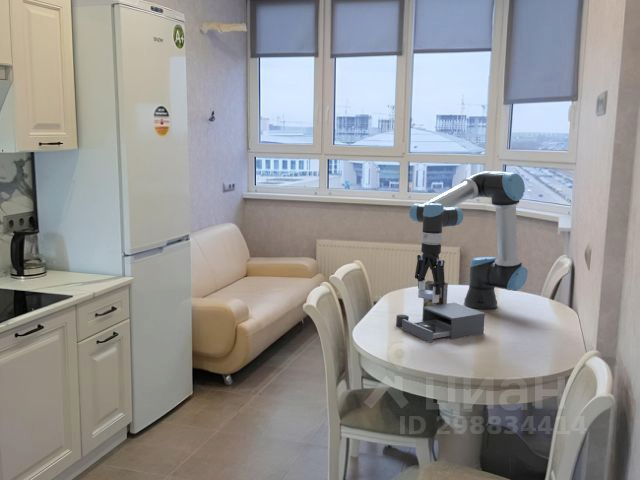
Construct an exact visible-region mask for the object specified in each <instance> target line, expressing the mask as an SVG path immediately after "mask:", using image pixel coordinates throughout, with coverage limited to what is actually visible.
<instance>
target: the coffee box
mask: <svg viewBox="0 0 640 480" xmlns="http://www.w3.org/2000/svg"><path fill="white" fill-rule="evenodd" d="M448 284H449V283H448V282H445V285H444V286H441V287H440V295H439V302H438V303H432V300H430V299H423V300H422V301H423V303H422V308H423V307H427V306H434V305H440V304H447V303H448ZM433 286H434V280H426V281H425V290H430V291H433Z"/></svg>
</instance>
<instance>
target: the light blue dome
mask: <svg viewBox="0 0 640 480" xmlns="http://www.w3.org/2000/svg"><path fill="white" fill-rule="evenodd" d="M418 296H419V297H420V298H421V299H422V300H424V299H430V300H432V296H433V291H430V290H421V291H419V293H418V294H417V297H418ZM420 298H419V299H420Z"/></svg>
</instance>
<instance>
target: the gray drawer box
mask: <svg viewBox="0 0 640 480" xmlns="http://www.w3.org/2000/svg"><path fill="white" fill-rule="evenodd" d="M485 313H486V312H482V311H481V310H480V311H479V310H477V309H475V308H472V307H468V306H466V305H464V304H463V305H462V304H459V303H457V302H447V304H440V305H434V306H427V307H423V306H422V320H421V322H422V321H428V320H434V319H438V320H440V321H443V322H445V323H448V324H450V325H451V331H450V336H446V337H445V338H447V339H450V340H457V339H460V338H466V337H467V338H468V337H471V336H477V335H482V334H484V330H485V320H486V319H485V317H486V316H485V315H486V314H485Z"/></svg>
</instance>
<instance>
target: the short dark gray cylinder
mask: <svg viewBox="0 0 640 480" xmlns="http://www.w3.org/2000/svg"><path fill="white" fill-rule="evenodd" d="M395 319H396V320H395V321H396V322H395V325H396V327H398V328H402V319H405V320H407V321H409V319H410V318H409V315H407V314H396V318H395Z"/></svg>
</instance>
